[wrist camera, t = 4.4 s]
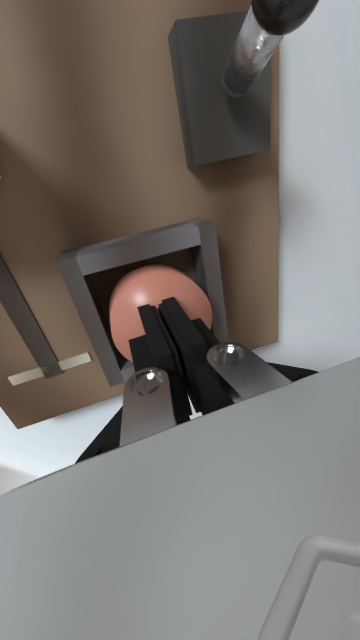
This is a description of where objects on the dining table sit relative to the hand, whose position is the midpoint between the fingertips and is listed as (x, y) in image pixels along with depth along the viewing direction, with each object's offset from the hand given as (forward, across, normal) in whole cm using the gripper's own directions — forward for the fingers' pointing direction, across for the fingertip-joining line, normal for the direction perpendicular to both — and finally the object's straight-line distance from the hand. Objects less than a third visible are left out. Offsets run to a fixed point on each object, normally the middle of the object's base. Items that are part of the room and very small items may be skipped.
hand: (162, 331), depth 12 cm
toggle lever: (+2, -5, -8) cm, 10 cm away
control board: (+6, +1, -3) cm, 6 cm away
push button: (+2, 0, 0) cm, 2 cm away
